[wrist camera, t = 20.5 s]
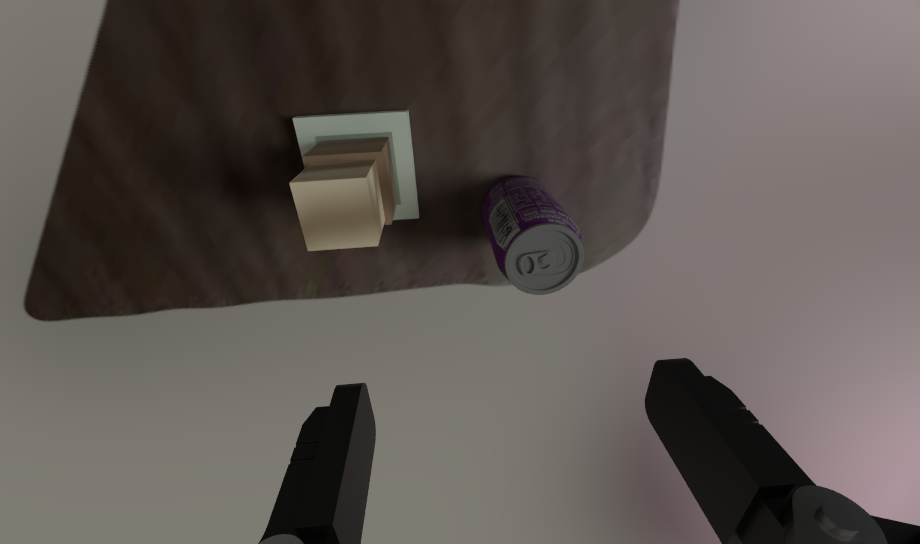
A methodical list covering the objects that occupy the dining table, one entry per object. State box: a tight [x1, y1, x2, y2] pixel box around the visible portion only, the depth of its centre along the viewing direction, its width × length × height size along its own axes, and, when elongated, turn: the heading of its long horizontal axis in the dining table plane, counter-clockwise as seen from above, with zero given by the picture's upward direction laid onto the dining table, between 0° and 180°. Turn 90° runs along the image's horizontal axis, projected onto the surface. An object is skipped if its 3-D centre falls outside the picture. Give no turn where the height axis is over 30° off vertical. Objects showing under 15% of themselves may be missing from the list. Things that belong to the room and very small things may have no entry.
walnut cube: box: [302, 137, 397, 225], centre depth 33 cm, size 6×6×6 cm
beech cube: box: [289, 159, 385, 251], centre depth 29 cm, size 5×5×5 cm
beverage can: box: [482, 176, 584, 295], centre depth 35 cm, size 7×7×12 cm
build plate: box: [292, 110, 419, 220], centre depth 37 cm, size 10×10×1 cm
